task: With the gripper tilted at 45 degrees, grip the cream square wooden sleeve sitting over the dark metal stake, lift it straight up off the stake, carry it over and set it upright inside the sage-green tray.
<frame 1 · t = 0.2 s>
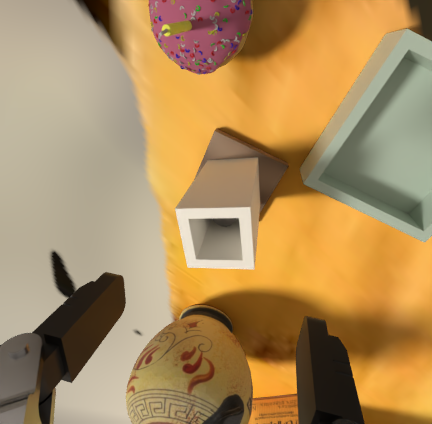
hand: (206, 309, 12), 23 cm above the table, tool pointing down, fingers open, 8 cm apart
cupcake: (211, 20, 26), on the table
sleeve: (234, 182, 32), point 1 cm above the table, touching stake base
pancake mix bag: (282, 403, 55), on the table
amphora: (207, 322, 47), on the table
tray: (397, 140, 28), on the table
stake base: (235, 178, 33), on the table
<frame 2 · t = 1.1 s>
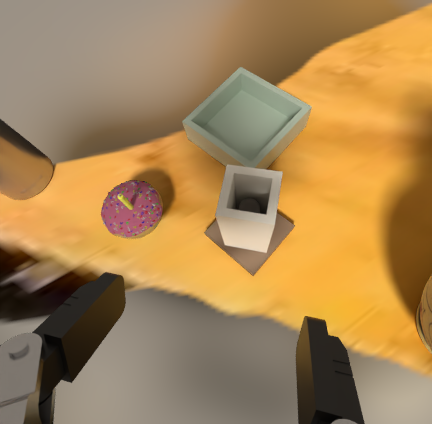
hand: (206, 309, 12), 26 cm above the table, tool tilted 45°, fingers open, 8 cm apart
cupcake: (144, 220, 42), on the table
sleeve: (248, 229, 38), point 1 cm above the table, touching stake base
tray: (245, 132, 46), on the table
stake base: (248, 231, 39), on the table
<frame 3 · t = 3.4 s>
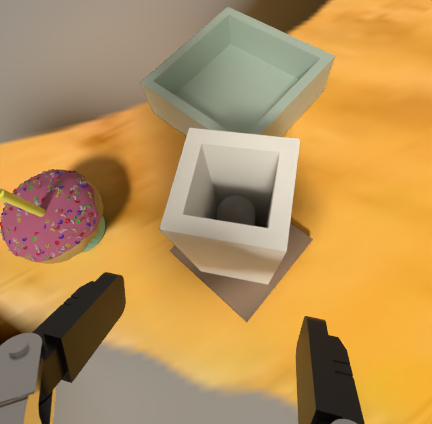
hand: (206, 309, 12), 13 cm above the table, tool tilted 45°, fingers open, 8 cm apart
cupcake: (83, 231, 28), on the table
sleeve: (239, 245, 24), point 1 cm above the table, touching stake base
tray: (236, 102, 32), on the table
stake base: (240, 248, 25), on the table
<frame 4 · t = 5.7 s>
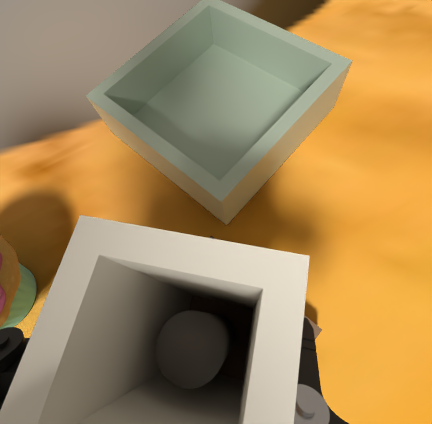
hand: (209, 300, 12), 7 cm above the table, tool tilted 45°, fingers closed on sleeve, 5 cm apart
cupcake: (7, 298, 21), on the table
sleeve: (215, 334, 17), point 1 cm above the table, touching gripper, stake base
tray: (219, 120, 24), on the table
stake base: (218, 334, 18), on the table
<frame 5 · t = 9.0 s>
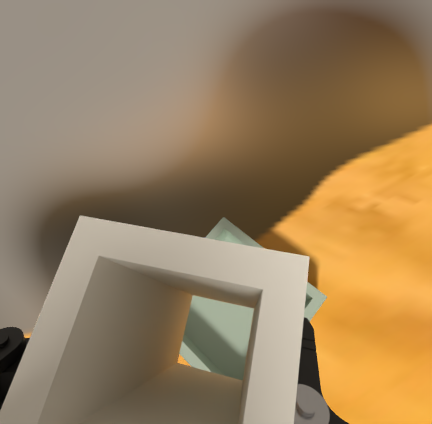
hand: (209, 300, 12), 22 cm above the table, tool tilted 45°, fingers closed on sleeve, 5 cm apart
sleeve: (216, 335, 17), point 16 cm above the table, touching gripper
tray: (233, 306, 33), on the table
when the fingers open (8 cm above the table, at t = 12.5 s): sleeve drops 1 cm, resting on tray.
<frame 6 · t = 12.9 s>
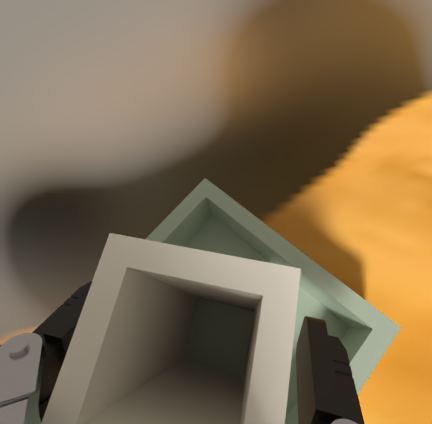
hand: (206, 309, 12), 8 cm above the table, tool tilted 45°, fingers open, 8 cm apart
sleeve: (219, 334, 18), point 1 cm above the table, touching tray
tray: (219, 333, 19), on the table
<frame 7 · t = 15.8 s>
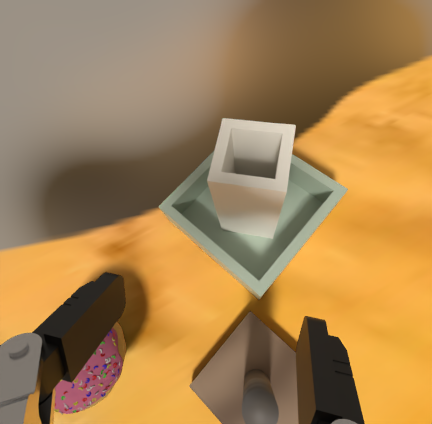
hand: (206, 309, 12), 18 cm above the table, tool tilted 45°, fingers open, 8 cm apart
cupcake: (103, 351, 29), on the table
sleeve: (251, 210, 32), point 1 cm above the table, touching tray
tray: (250, 213, 33), on the table
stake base: (256, 381, 26), on the table
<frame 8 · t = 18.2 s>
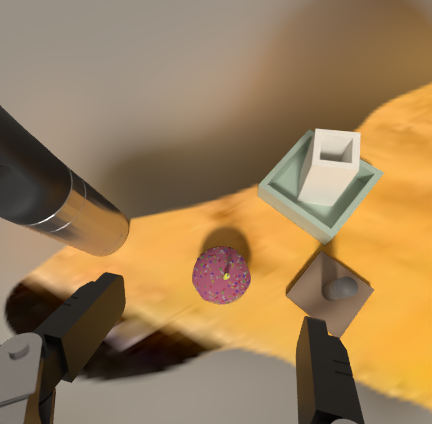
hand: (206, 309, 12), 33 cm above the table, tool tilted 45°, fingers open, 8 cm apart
cupcake: (223, 279, 44), on the table
sleeve: (315, 188, 47), point 1 cm above the table, touching tray
tray: (313, 191, 48), on the table
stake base: (327, 293, 42), on the table
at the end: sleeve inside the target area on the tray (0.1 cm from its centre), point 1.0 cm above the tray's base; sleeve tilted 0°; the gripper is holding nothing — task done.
